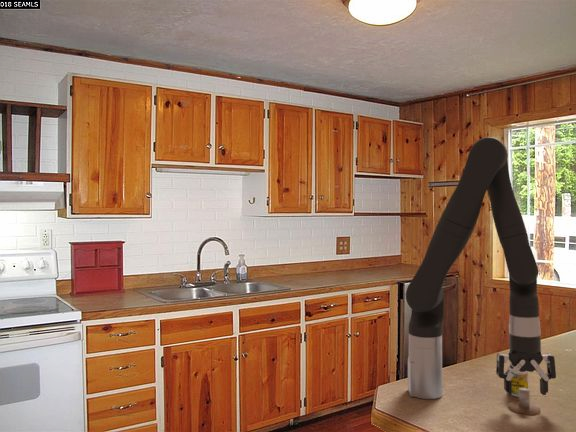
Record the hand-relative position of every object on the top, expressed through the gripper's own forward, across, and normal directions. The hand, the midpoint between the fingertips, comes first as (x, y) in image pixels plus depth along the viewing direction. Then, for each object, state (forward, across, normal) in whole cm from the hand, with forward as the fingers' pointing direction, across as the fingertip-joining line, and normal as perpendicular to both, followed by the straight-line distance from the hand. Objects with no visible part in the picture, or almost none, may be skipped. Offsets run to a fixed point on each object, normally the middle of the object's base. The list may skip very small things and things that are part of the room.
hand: (526, 393), depth 133 cm
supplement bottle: (+4, +1, +11) cm, 12 cm away
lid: (+4, 0, 0) cm, 4 cm away
